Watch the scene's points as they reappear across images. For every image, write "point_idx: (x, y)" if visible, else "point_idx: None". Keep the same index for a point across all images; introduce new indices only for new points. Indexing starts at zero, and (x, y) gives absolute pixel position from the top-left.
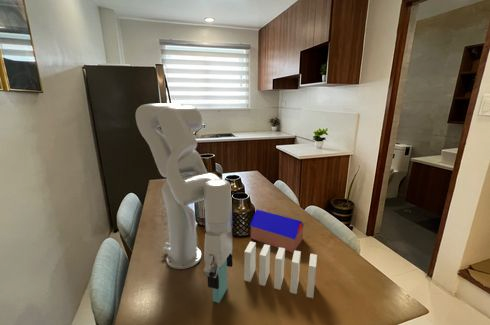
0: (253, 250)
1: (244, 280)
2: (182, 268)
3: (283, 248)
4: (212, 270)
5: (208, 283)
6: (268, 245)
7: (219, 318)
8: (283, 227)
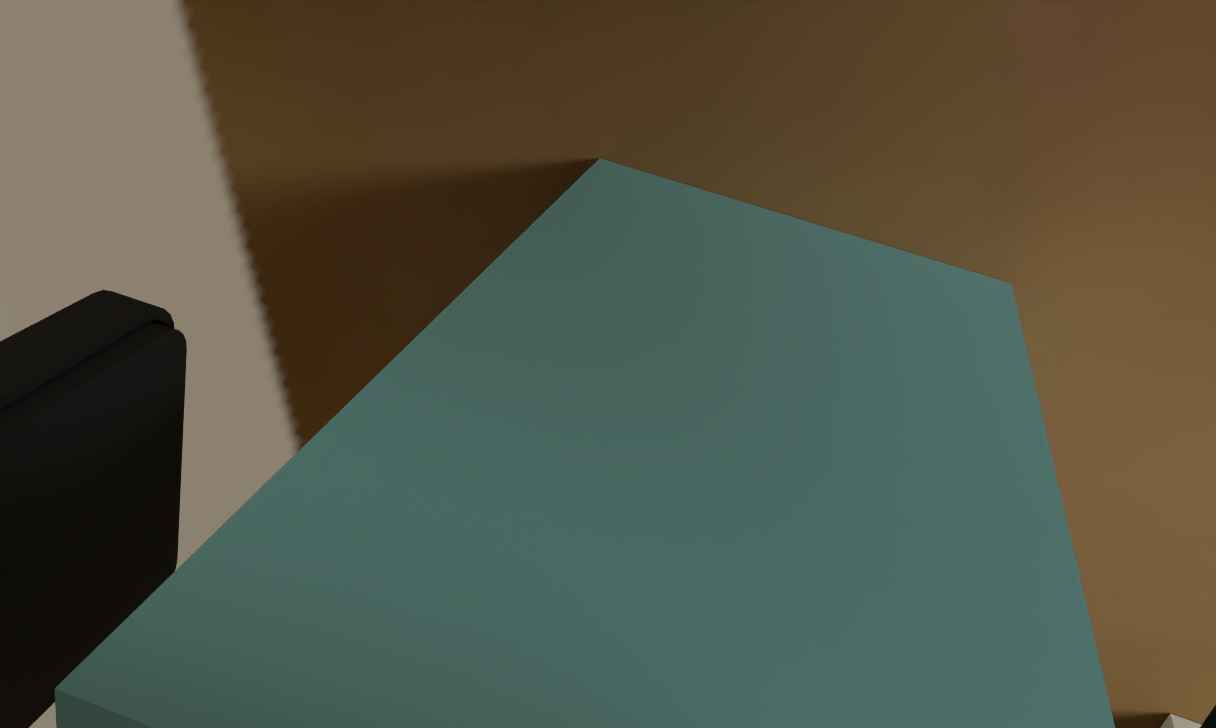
0: None
1: (1170, 716)
2: None
3: None
4: (81, 681)
5: (35, 346)
6: None
7: (293, 318)
8: None
